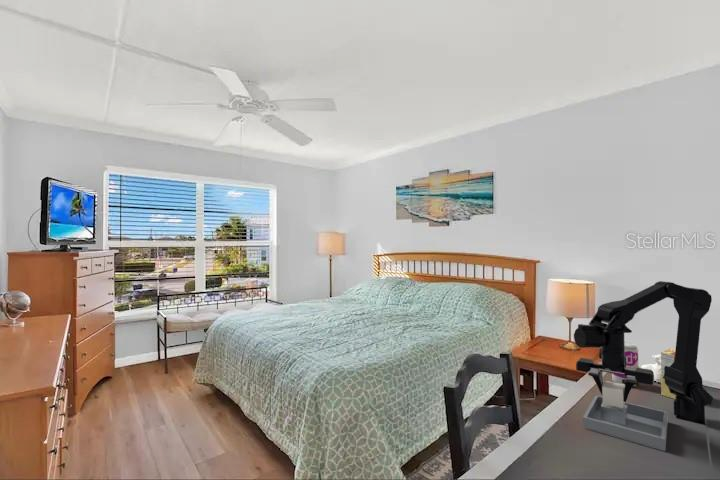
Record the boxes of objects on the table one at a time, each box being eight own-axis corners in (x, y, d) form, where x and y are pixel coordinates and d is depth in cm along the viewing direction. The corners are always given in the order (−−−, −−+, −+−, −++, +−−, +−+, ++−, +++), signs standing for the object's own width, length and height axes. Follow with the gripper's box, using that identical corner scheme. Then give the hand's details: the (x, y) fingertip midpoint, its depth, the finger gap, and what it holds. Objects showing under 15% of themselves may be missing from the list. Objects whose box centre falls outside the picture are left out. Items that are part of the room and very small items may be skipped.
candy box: (672, 390, 129) (671, 347, 130) (687, 394, 126) (686, 350, 126) (660, 395, 125) (659, 351, 125) (676, 399, 121) (674, 354, 122)
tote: (667, 423, 105) (667, 411, 105) (665, 453, 90) (665, 439, 90) (595, 405, 117) (595, 395, 117) (583, 429, 102) (582, 417, 103)
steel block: (627, 418, 108) (627, 405, 108) (625, 426, 103) (625, 412, 103) (604, 412, 112) (603, 399, 112) (600, 419, 107) (600, 406, 107)
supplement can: (643, 388, 131) (642, 347, 132) (618, 386, 133) (617, 346, 133) (631, 380, 139) (630, 341, 140) (608, 378, 141) (607, 340, 141)
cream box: (625, 401, 108) (625, 384, 108) (623, 408, 104) (622, 390, 104) (605, 396, 111) (605, 380, 111) (602, 403, 107) (602, 386, 107)
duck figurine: (681, 392, 133) (685, 364, 137) (676, 383, 129) (681, 355, 134) (641, 382, 143) (647, 356, 147) (636, 374, 139) (641, 348, 143)
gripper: (654, 346, 108) (655, 398, 107) (582, 336, 120) (583, 383, 120) (652, 355, 99) (653, 411, 99) (575, 343, 112) (576, 393, 111)
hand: (614, 398), depth 107 cm, fingers closed on cream box, 5 cm apart
